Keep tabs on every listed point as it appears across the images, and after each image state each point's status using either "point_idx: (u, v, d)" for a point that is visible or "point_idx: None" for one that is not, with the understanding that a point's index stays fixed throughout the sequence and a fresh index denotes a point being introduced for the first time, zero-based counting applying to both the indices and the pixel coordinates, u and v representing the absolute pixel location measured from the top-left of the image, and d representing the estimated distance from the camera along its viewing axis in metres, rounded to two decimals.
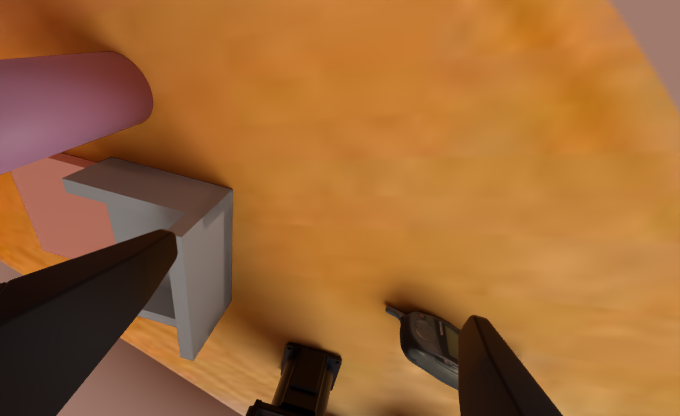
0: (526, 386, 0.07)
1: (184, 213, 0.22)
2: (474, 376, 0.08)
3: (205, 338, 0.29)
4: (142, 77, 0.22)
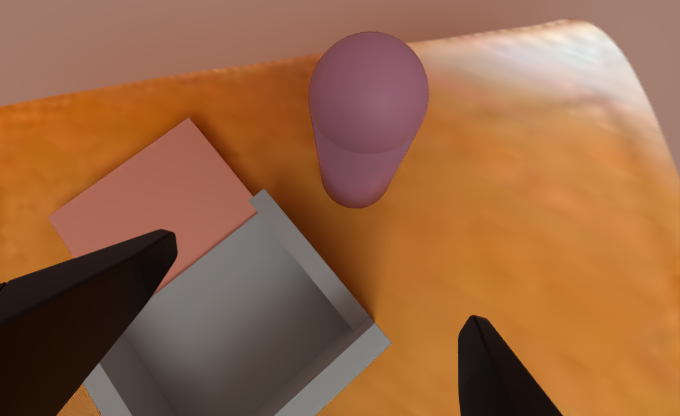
0: (526, 386, 0.07)
1: (366, 314, 0.17)
2: (474, 376, 0.08)
3: None
4: None
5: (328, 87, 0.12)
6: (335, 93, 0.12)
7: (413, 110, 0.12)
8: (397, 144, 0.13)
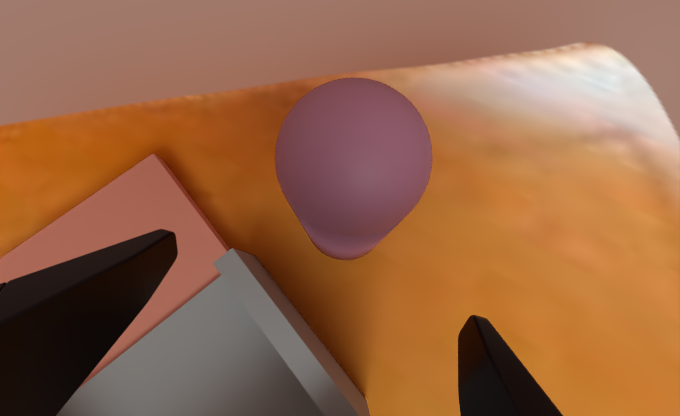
0: (526, 386, 0.07)
1: (353, 411, 0.14)
2: (474, 376, 0.08)
3: None
4: None
5: (295, 156, 0.09)
6: (305, 166, 0.08)
7: (412, 187, 0.09)
8: (390, 225, 0.10)
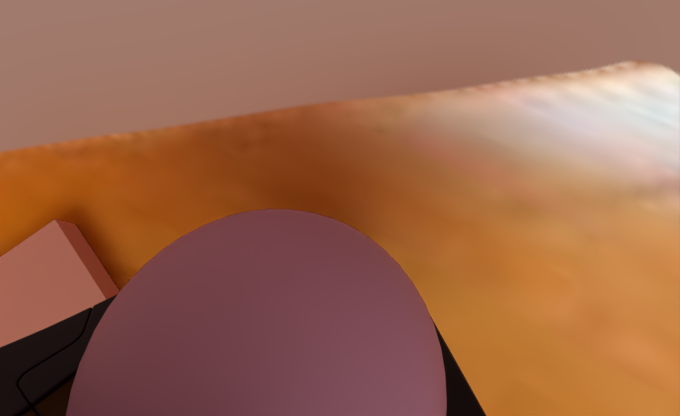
0: None
1: None
2: None
3: None
4: None
5: None
6: None
7: None
8: None
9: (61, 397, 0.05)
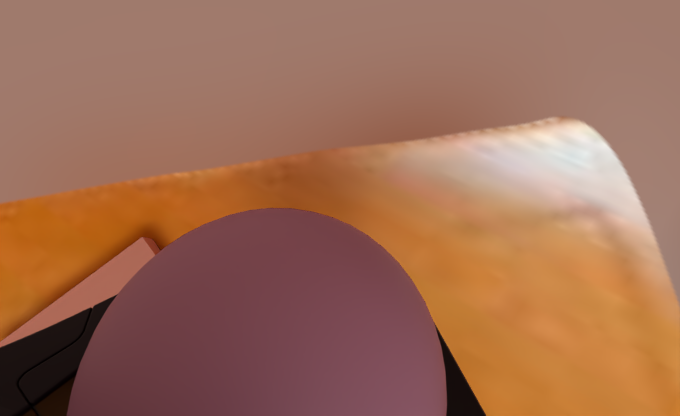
0: None
1: None
2: None
3: None
4: None
5: None
6: None
7: None
8: None
9: (61, 397, 0.05)
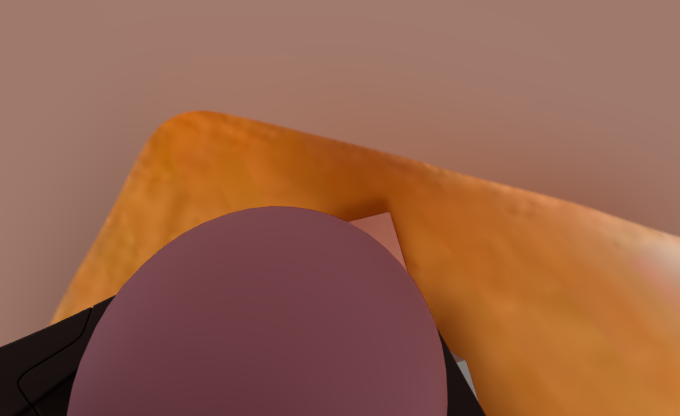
0: None
1: None
2: None
3: None
4: None
5: None
6: None
7: None
8: None
9: (61, 397, 0.05)
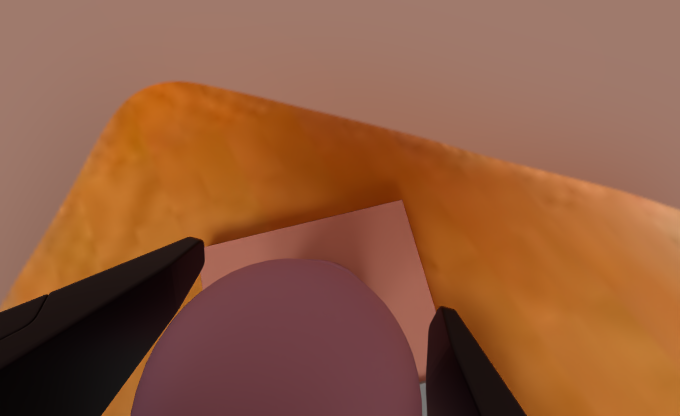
0: (484, 374, 0.07)
1: None
2: (439, 366, 0.08)
3: None
4: None
5: None
6: None
7: None
8: None
9: (6, 379, 0.05)
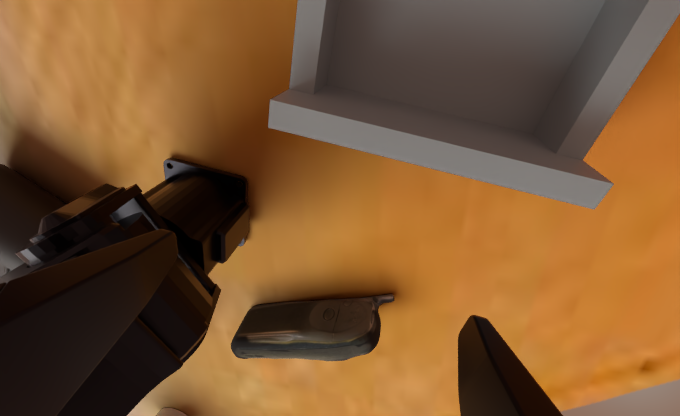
0: (526, 386, 0.07)
1: (583, 155, 0.14)
2: (474, 376, 0.08)
3: None
4: None
5: None
6: None
7: None
8: None
9: None
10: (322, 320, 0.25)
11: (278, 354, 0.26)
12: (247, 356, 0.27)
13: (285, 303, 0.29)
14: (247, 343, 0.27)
